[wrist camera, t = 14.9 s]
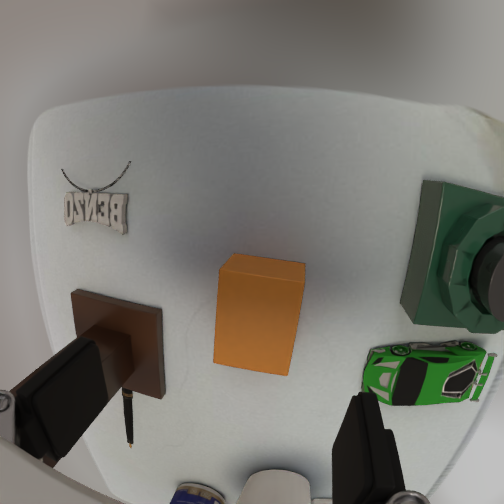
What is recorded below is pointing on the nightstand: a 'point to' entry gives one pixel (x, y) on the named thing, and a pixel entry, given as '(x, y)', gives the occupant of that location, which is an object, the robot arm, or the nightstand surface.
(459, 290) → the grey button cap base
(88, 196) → the necklace
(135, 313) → the stand
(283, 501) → the cup
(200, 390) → the nightstand surface
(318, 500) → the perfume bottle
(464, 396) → the toy car
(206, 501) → the pill bottle
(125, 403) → the fountain pen
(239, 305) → the orange block
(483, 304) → the dark grey button cap
